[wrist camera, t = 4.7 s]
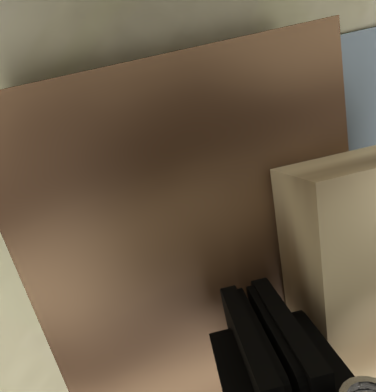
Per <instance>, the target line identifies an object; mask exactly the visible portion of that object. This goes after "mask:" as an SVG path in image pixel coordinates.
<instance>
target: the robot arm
mask: <svg viewBox="0 0 376 392" xmlns="http://www.w3.org/2000/svg"><path fill="white" fill-rule="evenodd" d="M246 291H247V296H246V294H245V292H244V290H243V289H242V288H239V289H237V288H236V286H235V285H233V286H229V287H225V288H221V289H220V293H221V298H222V303H223V308H224V312H225V317H226V322H227V327H228V329H225V330H221V331H217V332H213V333H209V336H210V341H211V345H212V350H213V354H214V358H215V362H216V367H217V371H218V375H219V379H220V383H221V388H222V392H376V378H374V377H370V376H356V377H355V376H354V374H353V373H352V372H351V371H350V369H349V368H348V367H347V366H346V364H345V363H344V362H343V360H342V359H341V358H340V357H339V355H338V354H337V353H336V352H335V350H334V349H333V348H332V346H331V345H330V344H329V343H328V341H327V340H326V339H325V338H324V336H323V335H322V334H321V332H320V331H319V330H318V329H317V327H316V326H315V325H314V323H313V322H312V321H311V320H310V318H309V317H308V316H307V315H306V313H305V312H304V311H302V310H299V311H295V312H291V311H290V310H289V308H288V307H287V305H286V304H285V303H284V301H283V300H282V298H281V297H280V296H279V294H278V293H277V291H276V290H275V289H274V287H273V286H272V284H271V283H270V282H269V280H268V279H267V278H266V277H265V278H261V279H257V280H253V281H251V286H247V287H246ZM247 297H248V298H247Z"/></svg>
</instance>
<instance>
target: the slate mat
mask: <svg viewBox="0 0 376 392" xmlns="http://www.w3.org/2000/svg"><path fill="white" fill-rule="evenodd" d="M340 36H341V50H342V64H343V78H344V91H345V105H346V119H347V133H348V146H349V151H352V150H356V149H360V148H365V147H369V146H373V145H376V27H372V28H368V29H363V30H359V31H355V32H350V33H346V34H341V35H340Z"/></svg>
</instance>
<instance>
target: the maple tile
mask: <svg viewBox="0 0 376 392" xmlns="http://www.w3.org/2000/svg"><path fill="white" fill-rule="evenodd" d="M270 174H271V182H272V191H273V199H274V208H275V216H276V225H277V233H278V242H279V250H280V258H281V267H282V275H283V284H284V292H285V301H286V305H287V307H288V308H289V310H290V311H291V312H295V311H299V310H302V311H304V312H305V313H306V315H307V316H308V317H309V318H310V320H311V321H312V322H313V323H314V325H315V326H316V327H317V329H318V330H319V331H320V332H321V334H322V335H323V336H324V338H325V339H326V340H327V341H328V343H329V344H330V345H331V346H332V348H333V349H334V350H335V352H336V353H337V354H338V355H339V357H340V358H341V359H342V360H343V362H344V363H345V364H346V366H347V367H348V368H349V369H350V371H351V372H352V373H353V374H354V376H355V377H356V376H370V377H374V378H376V145H373V146H369V147H365V148H360V149H356V150H352V151H347V152H343V153H339V154H334V155H330V156H326V157H321V158H317V159H312V160H308V161H304V162H299V163H295V164H291V165H286V166H282V167H278V168H273V169H270Z"/></svg>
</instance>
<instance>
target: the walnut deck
mask: <svg viewBox="0 0 376 392" xmlns="http://www.w3.org/2000/svg"><path fill="white" fill-rule="evenodd" d="M347 151H349V146H348V133H347V119H346V105H345V91H344V78H343V64H342V50H341V36H340V23H339V15H336V16H331V17H327V18H322V19H318V20H313V21H309V22H304V23H300V24H295V25H291V26H286V27H281V28H277V29H272V30H268V31H263V32H259V33H254V34H250V35H245V36H241V37H236V38H232V39H227V40H223V41H218V42H214V43H209V44H205V45H200V46H195V47H191V48H186V49H182V50H177V51H173V52H168V53H164V54H159V55H155V56H150V57H146V58H141V59H137V60H132V61H128V62H123V63H119V64H114V65H109V66H105V67H100V68H96V69H91V70H87V71H82V72H78V73H73V74H69V75H64V76H60V77H55V78H51V79H46V80H42V81H37V82H33V83H28V84H23V85H19V86H14V87H10V88H5V89H1V90H0V232H1V234H2V237H3V239H4V241H5V244H6V246H7V248H8V251H9V253H10V255H11V258H12V260H13V262H14V265H15V267H16V269H17V272H18V274H19V276H20V279H21V281H22V283H23V286H24V288H25V290H26V293H27V295H28V297H29V300H30V302H31V304H32V307H33V309H34V311H35V314H36V316H37V318H38V321H39V323H40V325H41V328H42V330H43V332H44V335H45V337H46V339H47V342H48V344H49V346H50V349H51V351H52V353H53V356H54V358H55V360H56V363H57V365H58V367H59V370H60V372H61V374H62V377H63V379H64V381H65V384H66V386H67V388H68V391H69V392H222V388H221V383H220V379H219V375H218V371H217V367H216V362H215V358H214V354H213V350H212V345H211V341H210V336H209V333H213V332H217V331H221V330H225V329H228V327H227V322H226V317H225V312H224V308H223V303H222V298H221V293H220V289H221V288H225V287H229V286H233V285H235V286H236V288H237V289H239V288H242V289H243V290H244V292H245V294H246V296H247V291H246V287H247V286H251V281H253V280H257V279H261V278H265V277H266V278H267V279H268V280H269V282H270V283H271V284H272V286H273V287H274V289H275V290H276V291H277V293H278V294H279V296H280V297H281V298H282V300H283V301H284V303H285V304H286V301H285V292H284V284H283V275H282V267H281V258H280V250H279V242H278V233H277V225H276V216H275V208H274V199H273V191H272V182H271V174H270V169H273V168H278V167H282V166H286V165H291V164H295V163H299V162H304V161H308V160H312V159H317V158H321V157H326V156H330V155H334V154H339V153H343V152H347ZM247 298H248V297H247Z"/></svg>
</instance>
